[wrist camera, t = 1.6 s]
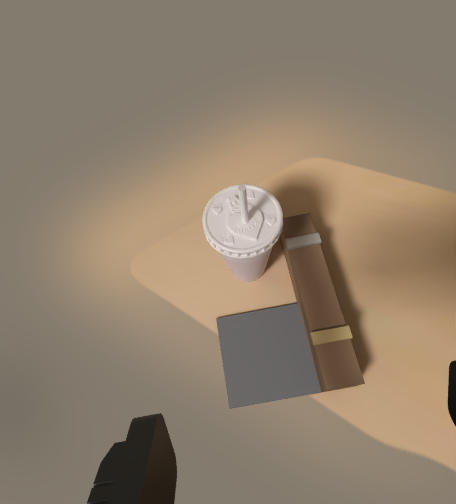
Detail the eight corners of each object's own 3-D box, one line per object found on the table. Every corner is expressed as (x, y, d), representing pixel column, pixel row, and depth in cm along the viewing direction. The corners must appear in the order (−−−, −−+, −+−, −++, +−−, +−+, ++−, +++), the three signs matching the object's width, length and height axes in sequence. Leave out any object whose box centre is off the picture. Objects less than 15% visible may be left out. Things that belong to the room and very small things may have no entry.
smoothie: (233, 305, 33) (214, 239, 20) (207, 253, 35) (176, 167, 23) (290, 277, 33) (306, 196, 21) (260, 228, 36) (258, 131, 24)
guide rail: (307, 228, 36) (311, 210, 33) (356, 385, 29) (367, 382, 25) (278, 233, 36) (279, 216, 33) (319, 392, 29) (326, 390, 26)
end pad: (297, 304, 32) (298, 303, 32) (320, 392, 29) (321, 392, 28) (216, 319, 32) (216, 318, 32) (229, 408, 29) (229, 408, 28)
